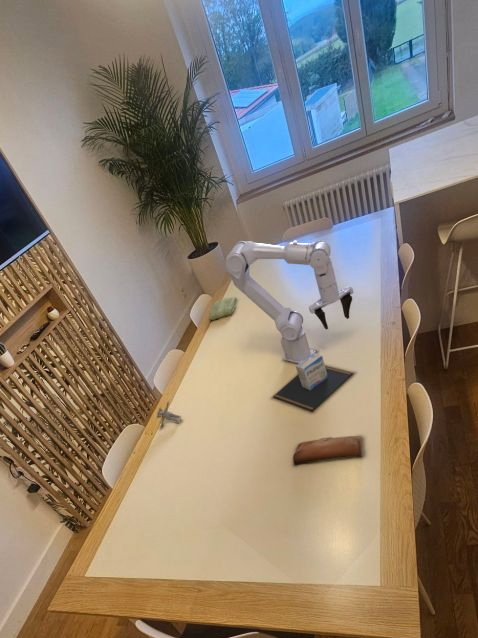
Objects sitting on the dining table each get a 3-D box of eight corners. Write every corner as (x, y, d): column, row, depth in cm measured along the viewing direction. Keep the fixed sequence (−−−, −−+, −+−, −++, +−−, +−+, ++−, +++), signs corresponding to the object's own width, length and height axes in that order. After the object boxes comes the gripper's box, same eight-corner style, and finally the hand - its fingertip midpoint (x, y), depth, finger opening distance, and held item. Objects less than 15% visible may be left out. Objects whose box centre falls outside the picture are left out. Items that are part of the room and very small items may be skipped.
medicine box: (310, 391, 133) (303, 369, 128) (301, 387, 137) (294, 365, 131) (328, 377, 135) (322, 355, 129) (319, 374, 138) (313, 352, 133)
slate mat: (273, 397, 139) (272, 396, 139) (312, 363, 145) (311, 362, 145) (312, 412, 127) (311, 410, 126) (353, 373, 132) (352, 372, 132)
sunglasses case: (361, 434, 112) (357, 427, 106) (363, 459, 110) (360, 454, 104) (296, 443, 119) (290, 437, 113) (298, 467, 117) (291, 462, 111)
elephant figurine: (172, 432, 147) (151, 425, 150) (180, 433, 153) (159, 426, 155) (180, 405, 145) (158, 398, 148) (187, 407, 151) (166, 400, 154)
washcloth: (238, 298, 209) (235, 292, 207) (233, 315, 197) (231, 309, 195) (214, 306, 214) (212, 300, 212) (209, 322, 202) (206, 317, 200)
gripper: (342, 270, 131) (351, 309, 140) (301, 291, 132) (312, 328, 141) (352, 275, 126) (360, 315, 134) (309, 297, 127) (320, 336, 135)
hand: (336, 322), depth 137 cm, fingers open, 7 cm apart
